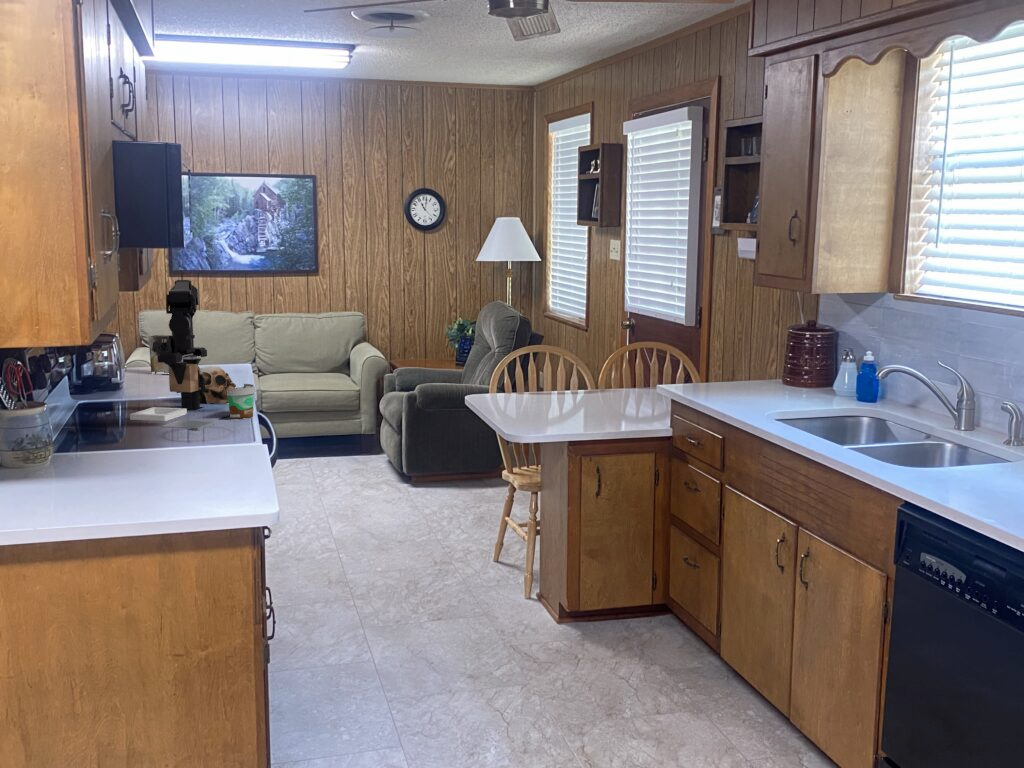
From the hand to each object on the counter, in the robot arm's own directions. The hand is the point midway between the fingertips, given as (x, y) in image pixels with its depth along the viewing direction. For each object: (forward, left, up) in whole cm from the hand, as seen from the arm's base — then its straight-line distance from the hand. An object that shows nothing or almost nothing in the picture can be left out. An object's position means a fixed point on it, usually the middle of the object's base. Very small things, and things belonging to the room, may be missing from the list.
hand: (184, 383), depth 300 cm
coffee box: (-102, -69, -14) cm, 124 cm away
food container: (-18, +11, -14) cm, 25 cm away
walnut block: (0, 0, -2) cm, 2 cm away
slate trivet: (0, +1, -13) cm, 13 cm away
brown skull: (-44, -14, -14) cm, 48 cm away
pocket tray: (-10, -15, -13) cm, 22 cm away
